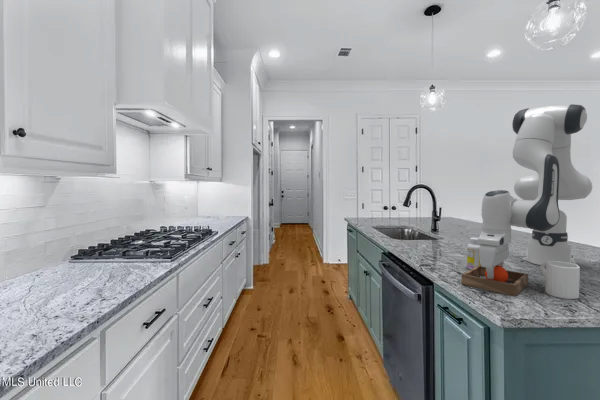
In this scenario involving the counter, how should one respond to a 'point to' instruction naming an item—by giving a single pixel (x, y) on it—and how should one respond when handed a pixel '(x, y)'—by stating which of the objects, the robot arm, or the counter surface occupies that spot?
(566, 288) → the mug
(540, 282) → the counter surface
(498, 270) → the clementine
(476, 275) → the wooden frame
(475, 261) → the supplement bottle
